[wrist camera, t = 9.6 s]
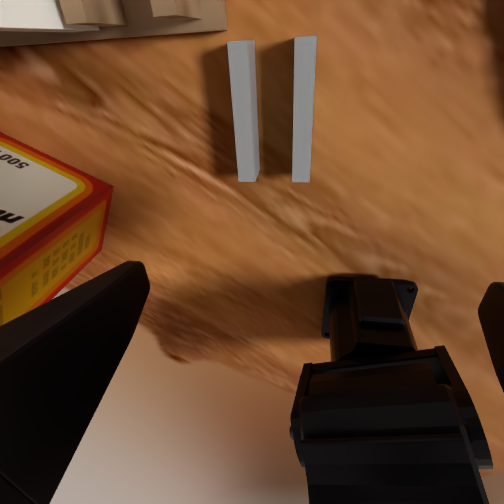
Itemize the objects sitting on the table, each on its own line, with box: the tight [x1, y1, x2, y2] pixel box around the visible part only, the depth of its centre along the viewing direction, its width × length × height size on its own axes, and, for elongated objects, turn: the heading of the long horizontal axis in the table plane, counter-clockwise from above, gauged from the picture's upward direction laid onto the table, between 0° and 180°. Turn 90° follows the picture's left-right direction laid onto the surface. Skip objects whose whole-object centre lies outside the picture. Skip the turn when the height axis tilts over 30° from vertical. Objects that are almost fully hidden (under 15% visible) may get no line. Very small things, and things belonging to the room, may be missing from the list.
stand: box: [227, 36, 317, 182], centre depth 17 cm, size 7×4×2 cm, turn 3°
